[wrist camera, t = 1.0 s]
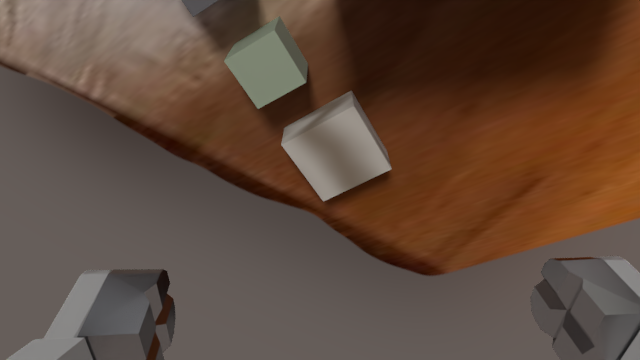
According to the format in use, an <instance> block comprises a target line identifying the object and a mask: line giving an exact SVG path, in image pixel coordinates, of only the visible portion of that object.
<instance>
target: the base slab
mask: <svg viewBox="0 0 640 360" xmlns="http://www.w3.org/2000/svg"><path fill="white" fill-rule="evenodd" d="M281 145H282V147H283V148H284V149H285V151H286V152H287V153H288V155H289V156H290V157H291V159H292V160H293V161H294V163H295V164H296V165H297V167H298V168H299V169H300V171H301V172H302V173H303V175H304V176H305V177H306V179H307V180H308V182H309V183H310V184H311V186H312V187H313V188H314V190H315V191H316V192H317V194H318V195H319V196H320V198H321V199H322V200H323V202H324V201H326V200H328V199H330V198H332V197H334V196H336V195H338V194H340V193H343V192H345V191H347V190H349V189H351V188H353V187H355V186H357V185H359V184H361V183H364V182H366V181H368V180H370V179H372V178H374V177H376V176H378V175H380V174H382V173H385V172H387V171H389V170H391V165H390V161H389V157H388V153H387V150H386V148H385V147H384V145H383V143H382V142H381V140H380V138H379V136H378V135H377V133H376V131H375V130H374V128H373V126H372V125H371V123H370V121H369V119H368V118H367V116H366V114H365V113H364V111H363V109H362V107H361V106H360V104H359V102H358V101H357V99H356V97H355V96H354V94H353V92H352V90H351V91H350V92H348V93H346V94H344V95H342V96H341V97H339V98H337V99H335V100H333V101H332V102H330V103H328V104H326V105H324V106H323V107H321V108H319V109H317V110H315V111H314V112H312V113H310V114H308V115H306V116H305V117H303V118H301V119H299V120H297V121H296V122H294V123H292V124H290V125H288V126H287V127H285V128H284V133H283V138H282V144H281Z"/></svg>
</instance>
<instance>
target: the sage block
mask: <svg viewBox="0 0 640 360" xmlns="http://www.w3.org/2000/svg"><path fill="white" fill-rule="evenodd" d="M224 61H225V63H226V64H227V66H228V67H229V69H230V70H231V71H232V73H233V74H234V76H235V77H236V78H237V80H238V81H239V83H240V84H241V86H242V87H243V88H244V90H245V91H246V93H247V94H248V96H249V97H250V98H251V100H252V101H253V103H254V104H255V105H256V107H257V108H258V109H259V108H261V107H263V106H265V105H266V104H268V103H270V102H272V101H274V100H276V99H277V98H279V97H281V96H283V95H285V94H286V93H288V92H290V91H292V90H294V89H295V88H297V87H299V86H301V85H303V84H304V83H306V81H307V69H308V63H307V61H306V60H305V58H304V56H303V55H302V53H301V51H300V50H299V48H298V46H297V45H296V43H295V41H294V39H293V38H292V36H291V34H290V33H289V31H288V29H287V28H286V26H285V24H284V23H283V21H282V19H281V18H280V16H279V17H277V18H276V19H274V20H272V21H271V22H269V23H267V24H266V25H264V26H263V27H261V28H259V29H258V30H256V31H255V32H253V33H251V34H250V35H248V36H246V37H245V38H243V39H242V40H240V41H238V42H237V43H235V44H234V45H233V47H232V49H231V50H230V52H229V53H228V55H227V57H226V58H225V60H224Z"/></svg>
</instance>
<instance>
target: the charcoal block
mask: <svg viewBox="0 0 640 360" xmlns="http://www.w3.org/2000/svg"><path fill="white" fill-rule="evenodd" d="M216 1H218V0H182V2H183V3H184V5H185V6H186V7H187V9H188V10H189V12H190V13H191V14H192V16H193V17H194V16H195V15H197V14H198V13H200V12H201V11H203V10H204V9H206V8H207V7H209V6H210V5H212V4H213V3H215V2H216Z"/></svg>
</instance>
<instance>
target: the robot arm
mask: <svg viewBox="0 0 640 360" xmlns="http://www.w3.org/2000/svg"><path fill="white" fill-rule="evenodd" d="M541 273H542V275H543V277H544V280H543V281H541V282H540V283H539V284H537V285H536V286H535V287H534V290H533V292H532V295H531V311H532V313H533V316H534V319H535V321H536V322H537V324H538V326H539V327H540V329H541V330H542V331H544V332H545V333H547V334H549V335H550V336H551V337H553V344H552V347H553V349H554V350H555V352H556V354H557V355H558V357H559V358H560V360H640V273H639V272H638V271H637V270H636V269H635V268H634V267H633V266H632V265H631V264H629V262H628V261H627V260H625V259H623V258H621V257H619V256H604V257H583V258H555V259H549V260H548V261H547V262H546V263H545V264H544V266H543V269H542V271H541ZM169 285H170V281H169V277H168V273H167V271H166V270H164V269H132V270H131V269H121V270H120V269H115V270H87V271H86V272H84V273H83V274H81V275H80V277H79V278H78V280H77V282H76V284H75V285H74V287H73V289H72V290H71V292H70V294H69V296H68V297H67V299H66V301H65V302H64V304H63V306H62V307H61V309H60V311H59V313H58V314H57V316H56V318H55V320H54V321H53V323H52V325H51V326H50V328H49V330H48V332H47V333H46V335H45V337H44V338H43V339H35V340H33V341H32V342H30V343H29V344H27V345H26V346H25V347H23V348H22V349H20V350H19V351H17V352H16V353H15V354H13V355H12V356H10V357H9V358H8V359H6V360H164V356H163V352H164V351H165V350H166V349H167V348H168V347H169V346H170V345H171V342H172V338H173V334H174V327H175V305H174V300H173V298H172V297H171V296H169V295H168V294H167V291H168V288H169Z"/></svg>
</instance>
